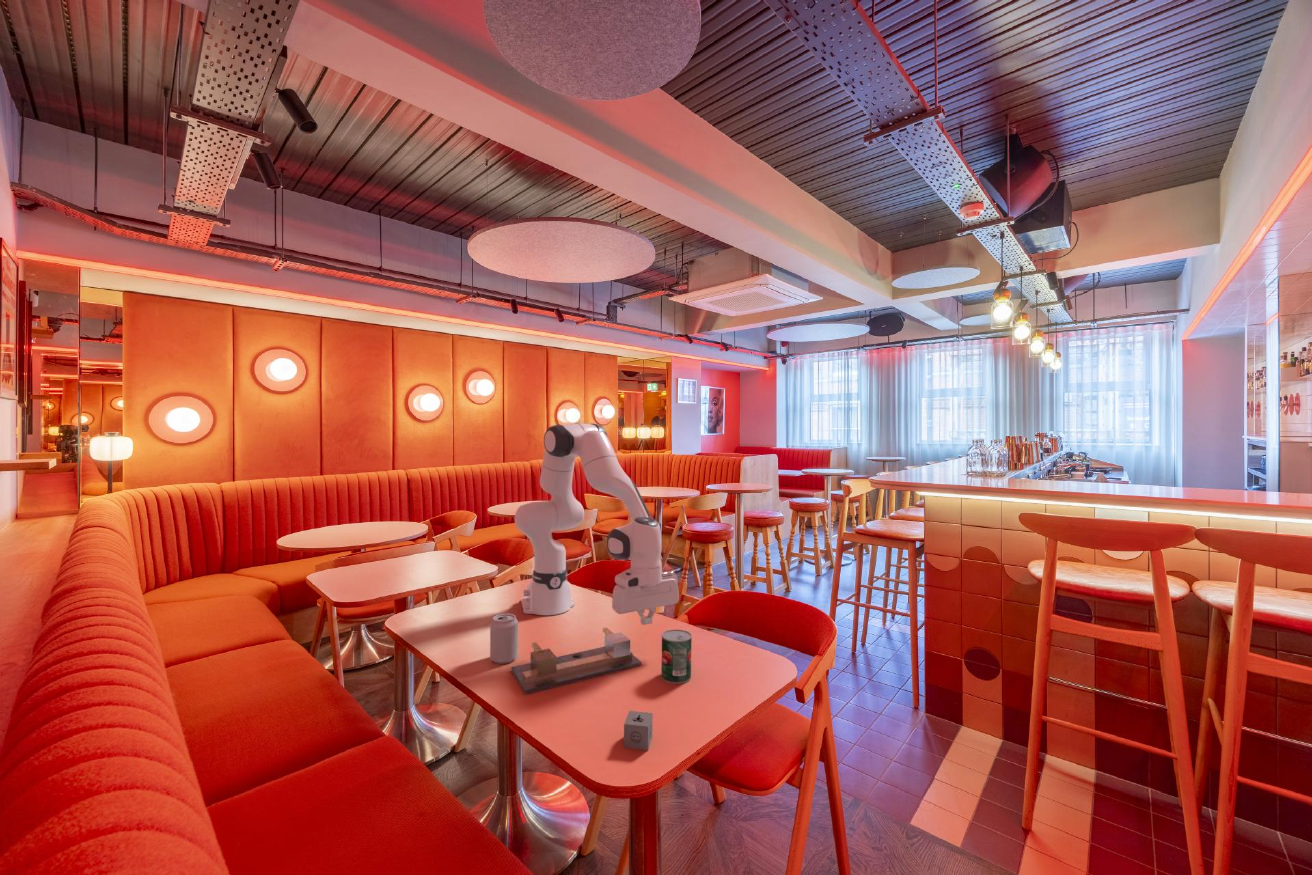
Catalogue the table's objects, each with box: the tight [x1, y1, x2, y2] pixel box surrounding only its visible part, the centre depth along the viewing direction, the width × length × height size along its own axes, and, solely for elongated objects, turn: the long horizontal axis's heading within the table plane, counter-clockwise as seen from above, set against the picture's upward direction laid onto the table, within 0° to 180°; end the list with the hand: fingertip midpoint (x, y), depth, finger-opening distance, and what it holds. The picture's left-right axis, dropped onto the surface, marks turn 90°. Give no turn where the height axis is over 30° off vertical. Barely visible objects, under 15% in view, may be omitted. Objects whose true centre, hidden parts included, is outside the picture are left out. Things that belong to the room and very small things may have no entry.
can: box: [489, 613, 519, 665], centre depth 143 cm, size 8×8×12 cm
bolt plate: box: [510, 642, 643, 695], centre depth 138 cm, size 14×32×6 cm, turn 120°
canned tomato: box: [660, 629, 693, 685], centre depth 134 cm, size 8×8×11 cm
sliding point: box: [602, 627, 631, 658], centre depth 145 cm, size 12×5×5 cm, turn 30°
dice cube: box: [623, 710, 654, 751], centre depth 106 cm, size 5×5×5 cm
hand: (646, 623), depth 146 cm, fingers closed
